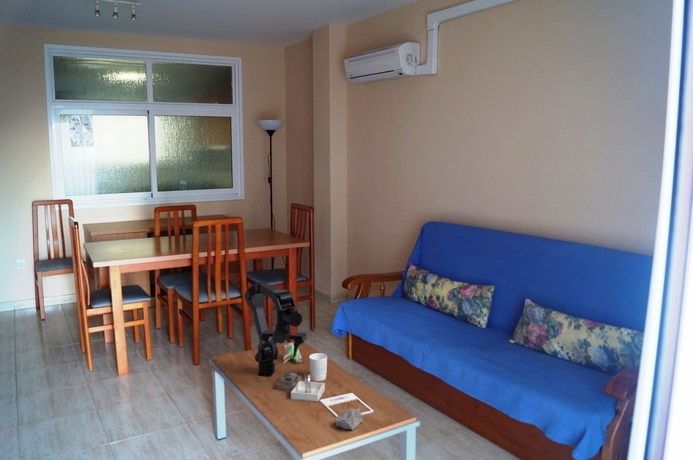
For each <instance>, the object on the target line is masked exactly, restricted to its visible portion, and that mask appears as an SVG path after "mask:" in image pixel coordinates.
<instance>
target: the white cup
mask: <svg viewBox="0 0 693 460" xmlns="http://www.w3.org/2000/svg"><path fill="white" fill-rule="evenodd" d="M308 359H309V361H308V362H309V374H311V381H313V382H314V381H315V382H322V381H324V380H326V379H327V370H328V369H327V368H328V355H327V354H325V353H322V352H321V353H320V352H319V353H318V352H317V353H311V354H310V355H309V356H308Z"/></svg>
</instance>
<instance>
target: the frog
mask: <svg viewBox="0 0 693 460" xmlns="http://www.w3.org/2000/svg"><path fill="white" fill-rule="evenodd" d="M293 343H294V342H289V343H286V344H284V346H283V352H284V354H283V364H285V363H287V362H288V361H289V360H290V359H293V361H294V363H295V364H297V363H301V362H302V355H301V352H300V349H299V347H298V350H297V353H296V356H295V357H294V344H293Z"/></svg>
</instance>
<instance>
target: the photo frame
mask: <svg viewBox="0 0 693 460" xmlns="http://www.w3.org/2000/svg"><path fill="white" fill-rule="evenodd" d="M355 399H356V400H357V401H358V400H359V401H360V404H361V405H362V406H364V407H365V408H367V410H368V411H364V412H361V415H362V416H363V415H367V414H372V413H374V409H372V408H371V407H370V406H368V405H367V404H366V403H365V402H364V401H363V400H361V399H360V398H359V397H358V396H357V395H355V394H354V393H353V392H350V393H345V394H341V395H336V396H332V397H327V398H322V399H319V402H320V403H321V404H322V405H323V406H324V407H325V408H326V409H327V410H328V411H330V413H332V414H333V416H335V417H336V418H337V417H338V416H339V415H338V414H337V413H336V412H335V411H334V410H333V409H332V408H330V406H334V405H338V404H342V403H346V402H350V401H351V400H352V401H356V400H355ZM352 401H351V402H352ZM359 401H358V402H359Z"/></svg>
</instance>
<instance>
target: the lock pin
mask: <svg viewBox="0 0 693 460" xmlns="http://www.w3.org/2000/svg"><path fill="white" fill-rule="evenodd" d="M303 378H304V382H305V393H311V382H312V379H311V373H310V372H309V373H304V374H303Z"/></svg>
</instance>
